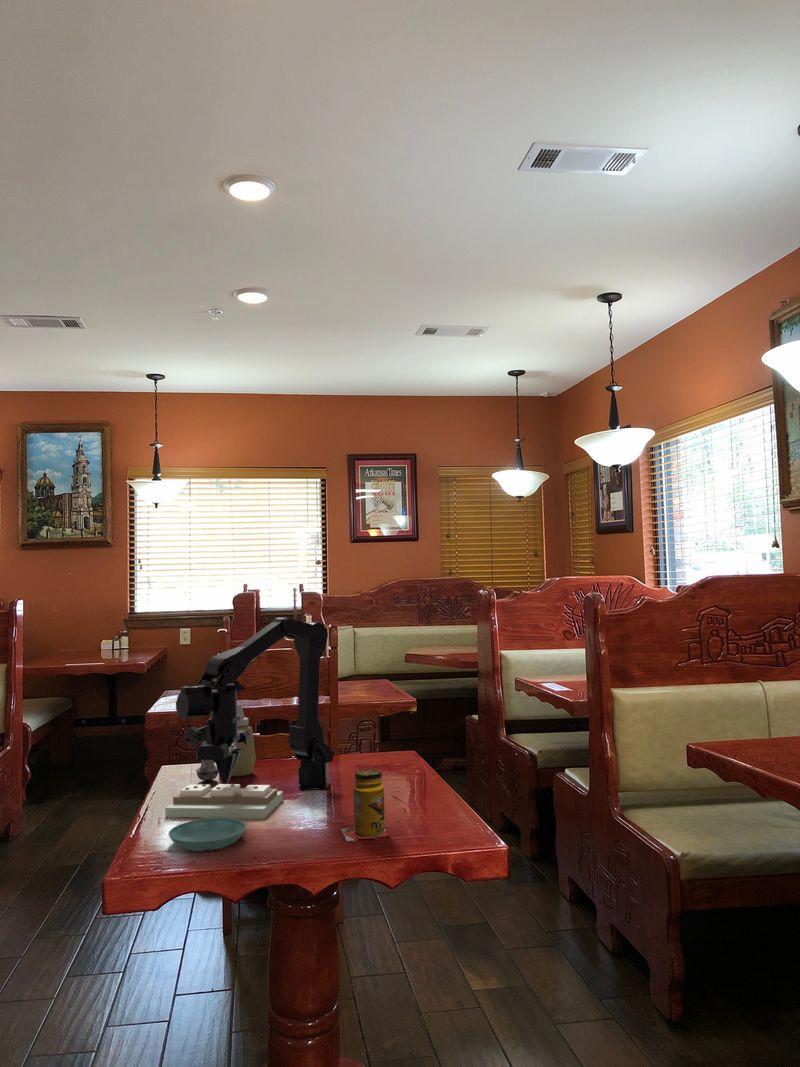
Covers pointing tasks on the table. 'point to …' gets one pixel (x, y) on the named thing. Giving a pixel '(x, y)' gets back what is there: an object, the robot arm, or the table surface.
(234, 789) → the two-pip key
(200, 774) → the grey tall tapered piece
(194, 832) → the saucer
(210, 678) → the robot arm
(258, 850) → the table surface
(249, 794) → the one-pip key
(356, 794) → the condiment
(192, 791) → the three-pip key
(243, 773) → the squeeze bottle
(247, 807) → the board
